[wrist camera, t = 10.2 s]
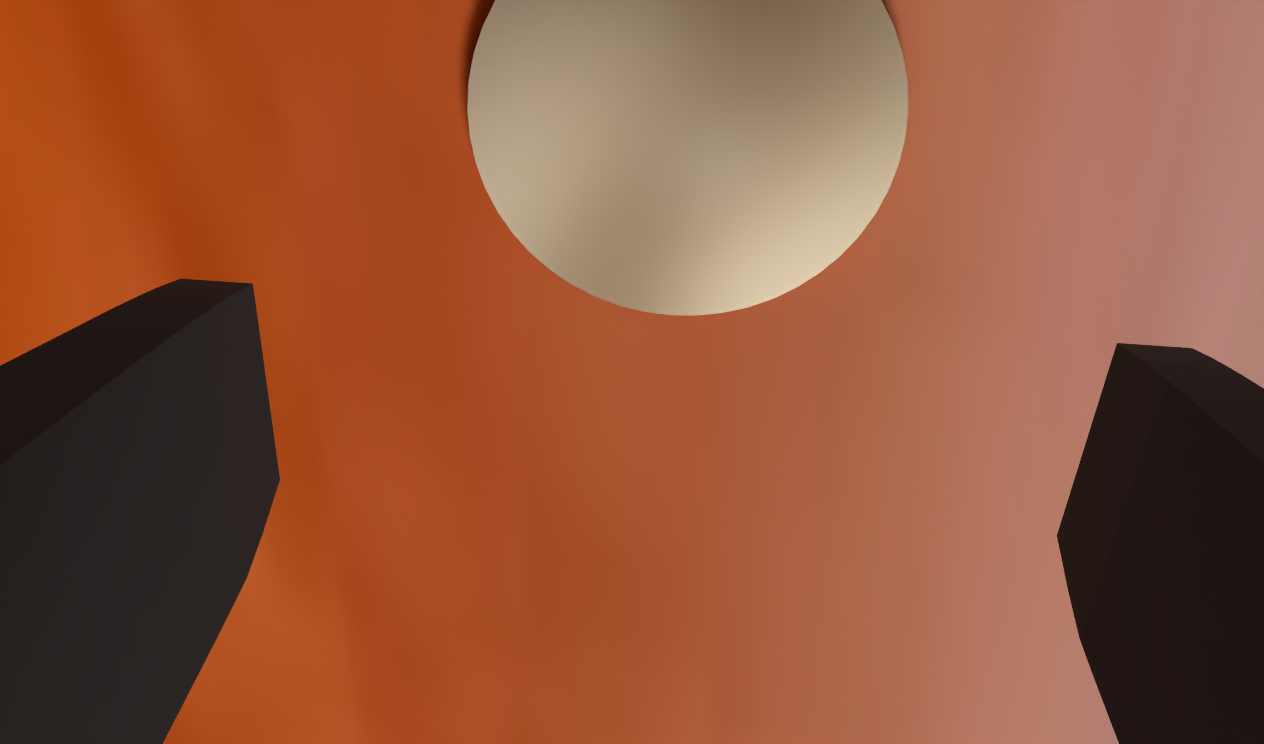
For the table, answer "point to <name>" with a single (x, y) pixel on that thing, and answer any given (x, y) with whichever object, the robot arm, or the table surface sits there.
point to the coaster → (687, 140)
